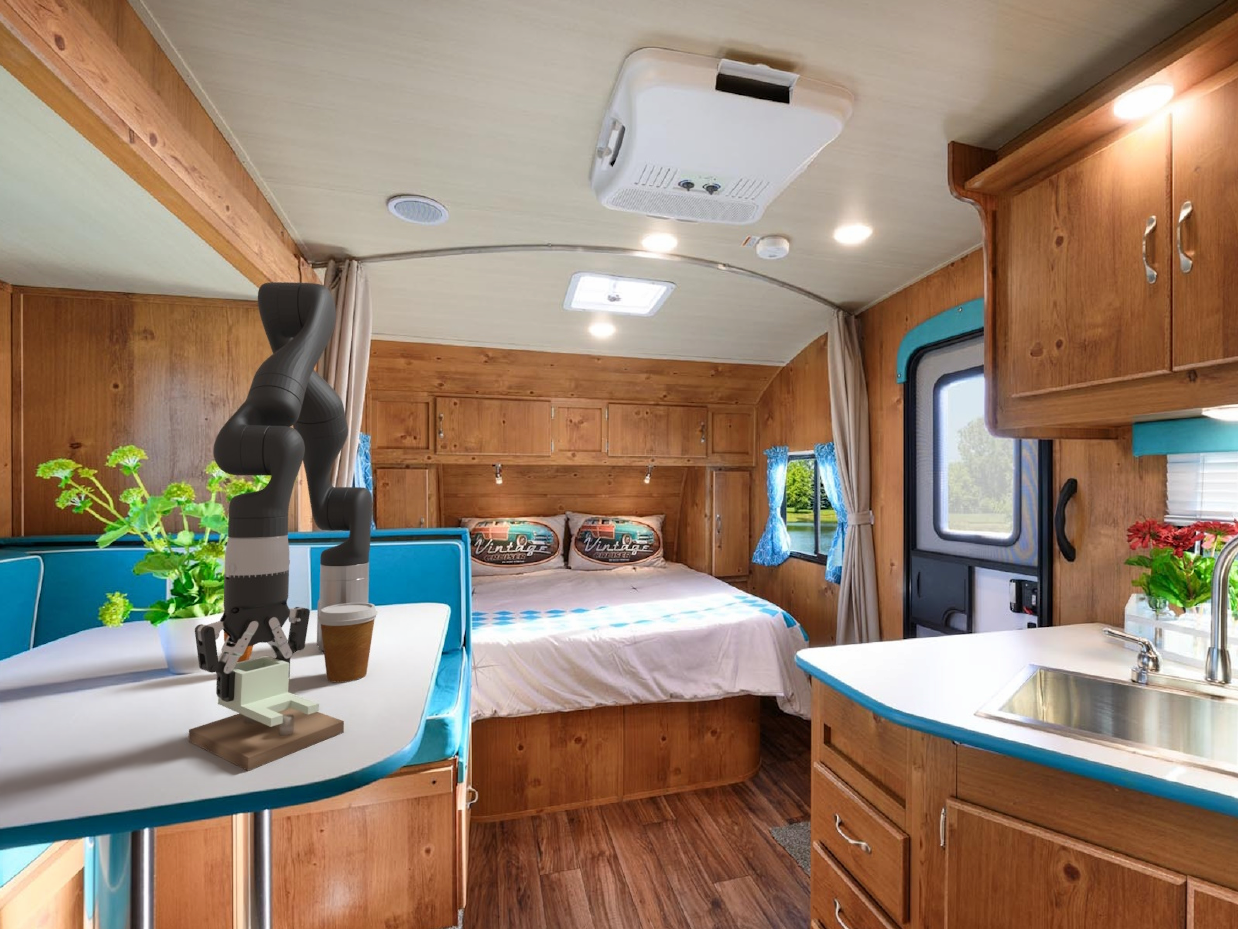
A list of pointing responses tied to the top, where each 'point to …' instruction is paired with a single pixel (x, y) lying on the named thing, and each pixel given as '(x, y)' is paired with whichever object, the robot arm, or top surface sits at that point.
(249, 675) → the hollow square block
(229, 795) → the top surface
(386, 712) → the top surface
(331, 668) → the disposable coffee cup
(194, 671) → the top surface
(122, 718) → the top surface
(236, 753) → the post base
